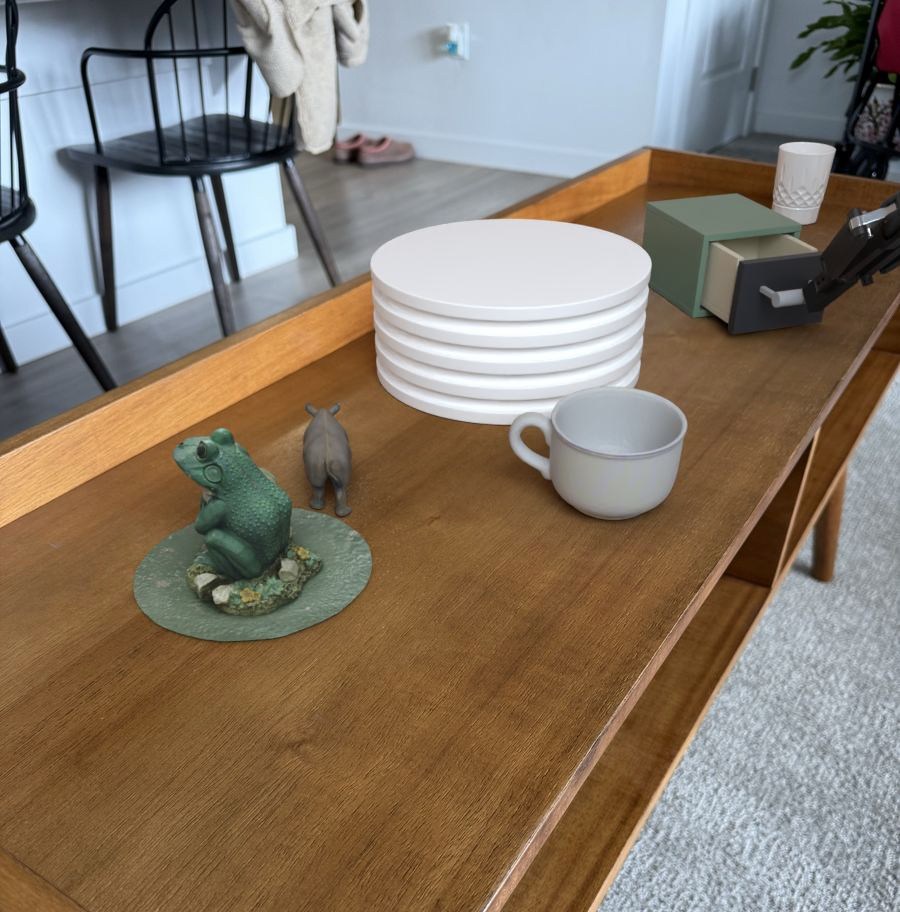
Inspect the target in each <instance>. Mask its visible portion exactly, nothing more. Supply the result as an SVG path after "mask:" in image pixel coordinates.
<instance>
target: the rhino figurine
mask: <svg viewBox="0 0 900 912" xmlns="http://www.w3.org/2000/svg"><path fill="white" fill-rule="evenodd" d="M304 406H305V407H304V408H305V409H304V410H305V411H306V413H307V414H309V415H311V416H312V419H311V420H310V421H309V423H308V425H307V426H306V427H305V430H304V433H303V437H302V454H301V455H302V460H303V463H304V471H305V474H306V478H307V479H308V482H309V483H310V485H311V487H312V499H311V500H310V501H309V502H308V506H309V507H310V508H312V509H314V510H322V509H324V508H325V506H326V498H325V497H324V496H325V492H326V491H325V490H326V489H325V488H326V484H327V481H328V479H330V482H331V484H332V486H333V489H334V500H335V504H336V505H335V508H334V511H335V515H336V516H337V517H345V516H348V515H350V514H351V513H352V512H353V509H352V507H351V506H350V505H348V504H347V501H348V500H347V499H348V486H349V482H350V480H351V476H352V472H353V471H352V470H353V465H352V458H353V452H352V448H351V445H350V439H349V436H348V433H347V431H346V428H345V427H344V426H343V424H341V423H340V422H339V421H338V420H337V418H336V417H334V416H335V415H336V414H337V413H338V412H340V410H341V404H340V402H335V403H334V404H332V406H331V407H330V408H329V409H327V408H319V409H316V408H315V407H314V406H312V404H310V403H309V402H306V403H305V405H304Z"/></svg>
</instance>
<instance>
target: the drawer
mask: <svg viewBox="0 0 900 912" xmlns="http://www.w3.org/2000/svg"><path fill="white" fill-rule="evenodd" d="M818 250H819V249H818V248H816V247H814V246H813V245H811V244H808V243H806V242H804V241H803V240H800V238H799V239H797V238H795V237H793V236H791V235H789V234H787V233H782V234H773V235H764V236H755V237H746V238H737V239H728V240H719V241H710V242H709V248H708V255H707V262H706V268H705V275H704V282H703V289H702V296H701V303H700V305H702V306H703V307H705V308H706V309H708V310H709V311H710V312H712V313H713V314H715V315H714V316H716V317H718V318H719V319H721V320H722V321H724V323H727V324H728V326H727V332H729V333H730V334H731V335H738V334H746V333H747V334H748V333H753V332H761V331H768V330H776V329H782V328H783V329H784V328H791V327H797V326H804V325H812V324H813V325H814V324H820V323H822V322H823V319H824V318H823V317H824V314H825V309H826V308H824V309H823V310H822V311H819V312H812V313H808V309H807V306H806V302H805V298H804V295H803V291H802V289H803V288H804V287H805V286H806V285H807V284H808V283H810V282H811V281H812V280H813V279H814V278H815V277H817V276H818V275H819V274H820V273H821V272H822V271H823V269H822V265H821V262H820V258H819V257H820V256H821V254H822V253H823V252H824V250H820V251H818Z"/></svg>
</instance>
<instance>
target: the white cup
mask: <svg viewBox="0 0 900 912" xmlns="http://www.w3.org/2000/svg"><path fill="white" fill-rule="evenodd" d="M836 152H837V149H836V148H835V147H834V146H833V145H829V144H825V143H820V142H813V141H812V142H811V141H810V142H809V141H793V142H792V141H791V142H785V143H782V144H780V145H779V146H778V152H777V153H778V154H777V161H776V167H775V168H776V169H775V174H774V181H773V182H774V183H773V191H772V203H771V204H772V205H771V210H773V211H775V212H777V213H779V214H781V215H783V216H785V217H788V218H790V219H792V220H794V221H796V222H798V223H800V224H802V226H806V225H811V224H814V223H816V222H817V221H818V219H819V214H820V209H821V207H822V206H821V205H822V203H823V201H824V197H825V193H826V191H827V187H828V184H829V179H830V175H831V170H832V166H833V163H834V159H835V156H836Z"/></svg>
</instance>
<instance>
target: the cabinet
mask: <svg viewBox="0 0 900 912" xmlns="http://www.w3.org/2000/svg"><path fill="white" fill-rule="evenodd" d="M802 228H803V225H802V224H800V223H798V222H796V221H794V220H792V219H790V218H788V217H785V216H783V215H781V214H779V213H777V212H775V211H773V210H772V208H771V209H770V207H769V208H768V207H766V206H765V205H762V204H760V203H758V202H757V201H754V200H752V199H750V198H748V197H746V196H744V195H742V194H740V193H727V194H716V195H715V194H714V195H706V196H705V195H704V196H696V197H684V198H675V199H665V200H664V199H663V200H655V201H647V202H646V206H645V216H644V226H643V235H642V245H641V247H642V248H643V249H644V250H645V251H646V252H647V253H648V255H649V257H650V259H651V262H652V267H651V276H650V281H649V283H648V287H649V289H651V290H653V291H654V292H655V293H657V294H658V295H660V296H661V297H662V298H664V299H665V300H666V301H668V302H670V303H671V304H672V305H674V306H675V307H676V308H678V309H679V310H680V311H682V312H684V314H686V315H687V316H689V317H691V318H692V319H695V318H696V319H697V318H703V317H705V318H706V317H712V316H716V315H715V314H713V313H712V312H710V311H709V310H708V309H706V308H705V307H703V306H702V305H700V303H701V296H702V289H703V282H704V275H705V268H706V262H707V255H708V248H709V242H710V241H719V240H728V239H737V238H746V237H755V236H764V235H773V234H782V233H787V234H789V235H791V236H793V237H795V238H797V239H799V240H800V238H801V232H802Z"/></svg>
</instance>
